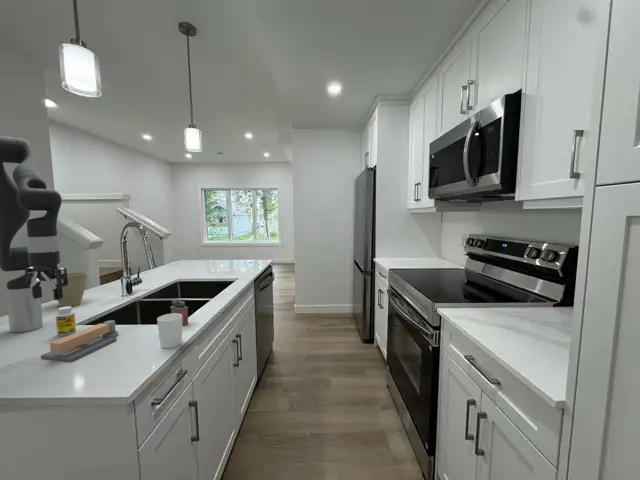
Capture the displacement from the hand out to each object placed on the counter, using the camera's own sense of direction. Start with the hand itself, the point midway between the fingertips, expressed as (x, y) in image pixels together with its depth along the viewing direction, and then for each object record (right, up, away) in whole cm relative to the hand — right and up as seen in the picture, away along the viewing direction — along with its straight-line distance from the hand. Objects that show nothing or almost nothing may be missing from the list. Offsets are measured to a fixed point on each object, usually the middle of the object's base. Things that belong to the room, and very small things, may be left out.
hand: (47, 298), depth 98 cm
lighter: (+31, -16, +26) cm, 44 cm away
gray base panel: (+9, -18, +6) cm, 21 cm away
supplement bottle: (-8, -17, +17) cm, 25 cm away
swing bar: (+9, -16, +6) cm, 19 cm away
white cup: (+38, -18, +7) cm, 42 cm away
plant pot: (-38, -14, +53) cm, 67 cm away
